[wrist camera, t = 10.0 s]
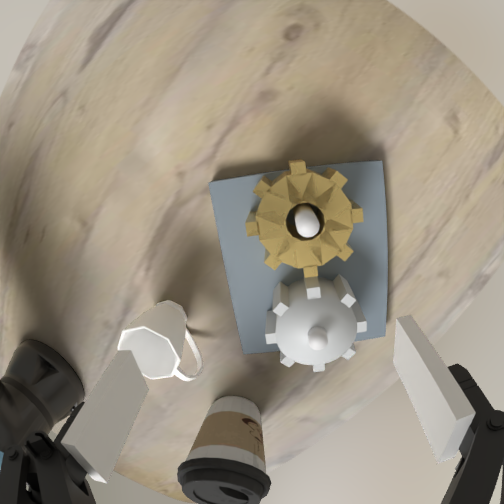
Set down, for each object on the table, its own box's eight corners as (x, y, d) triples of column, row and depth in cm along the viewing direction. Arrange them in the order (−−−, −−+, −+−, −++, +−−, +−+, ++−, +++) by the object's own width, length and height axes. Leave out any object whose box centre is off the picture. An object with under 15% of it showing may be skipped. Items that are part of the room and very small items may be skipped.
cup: (168, 278, 35) (142, 313, 27) (227, 337, 37) (215, 381, 29) (133, 309, 37) (105, 345, 29) (188, 362, 39) (172, 405, 31)
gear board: (244, 346, 37) (237, 388, 30) (211, 181, 31) (192, 191, 24) (381, 329, 35) (400, 367, 28) (377, 160, 29) (405, 165, 22)
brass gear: (258, 265, 32) (255, 283, 28) (242, 167, 29) (236, 171, 25) (354, 252, 31) (365, 269, 27) (345, 154, 28) (357, 155, 23)
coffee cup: (289, 418, 41) (289, 504, 27) (230, 440, 44) (216, 517, 30) (242, 373, 39) (226, 467, 25) (181, 401, 42) (153, 482, 28)
